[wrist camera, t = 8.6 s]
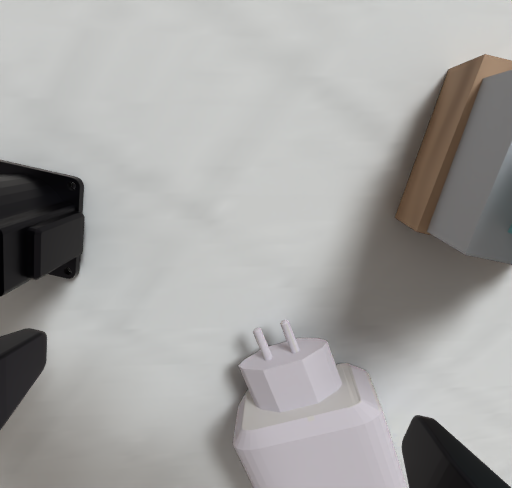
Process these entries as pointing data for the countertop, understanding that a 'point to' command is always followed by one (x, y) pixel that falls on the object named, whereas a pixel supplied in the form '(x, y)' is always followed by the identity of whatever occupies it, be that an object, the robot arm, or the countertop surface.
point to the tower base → (444, 139)
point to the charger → (311, 420)
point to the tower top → (481, 179)
